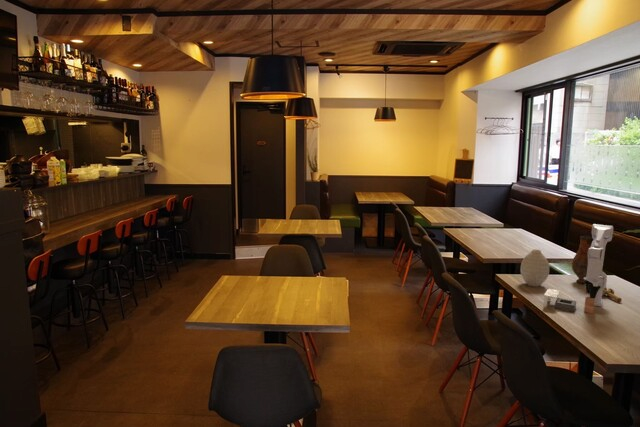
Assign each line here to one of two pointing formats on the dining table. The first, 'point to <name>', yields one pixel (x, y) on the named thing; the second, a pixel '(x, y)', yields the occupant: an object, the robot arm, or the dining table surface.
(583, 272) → the pitcher
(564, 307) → the socket
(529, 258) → the vase
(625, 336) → the dining table surface
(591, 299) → the peg
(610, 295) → the kendama
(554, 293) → the beige block
